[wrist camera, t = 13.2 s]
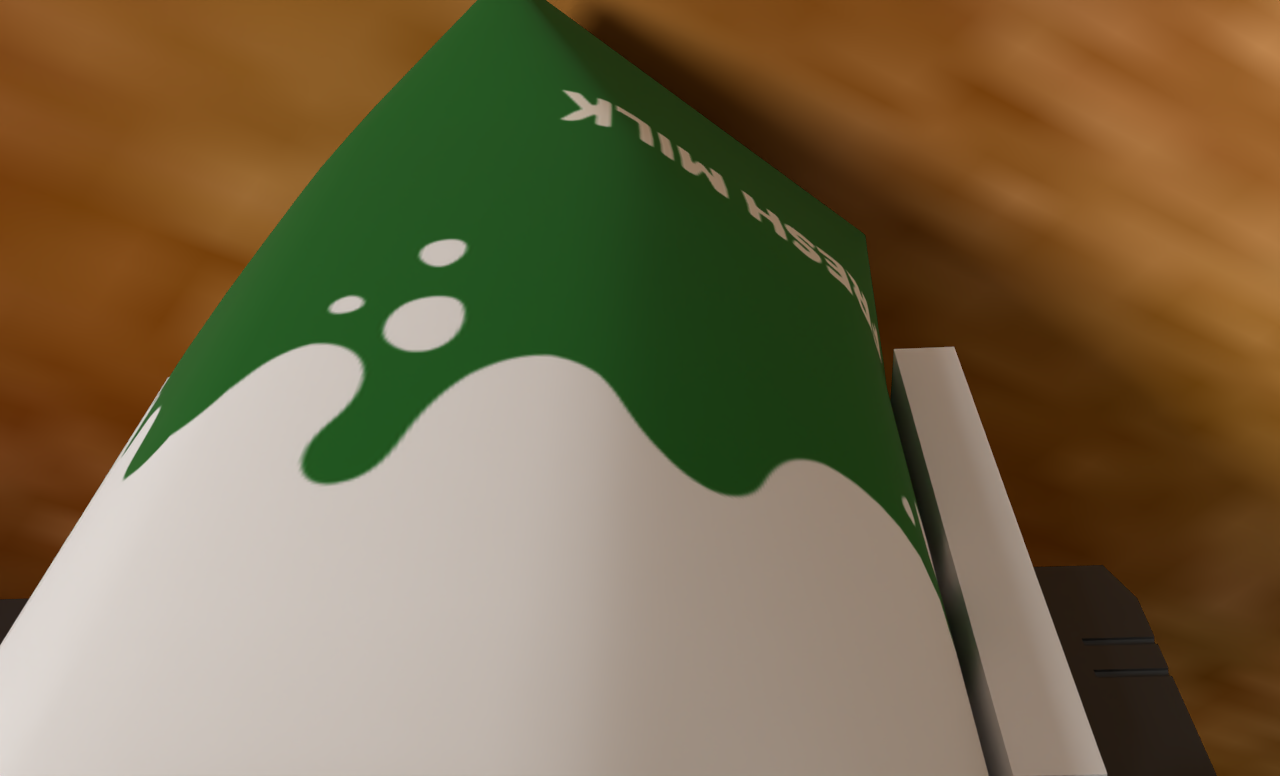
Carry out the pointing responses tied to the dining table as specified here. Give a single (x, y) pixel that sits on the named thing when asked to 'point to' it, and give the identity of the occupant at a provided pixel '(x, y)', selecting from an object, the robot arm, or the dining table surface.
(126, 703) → the soya milk
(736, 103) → the dining table surface
